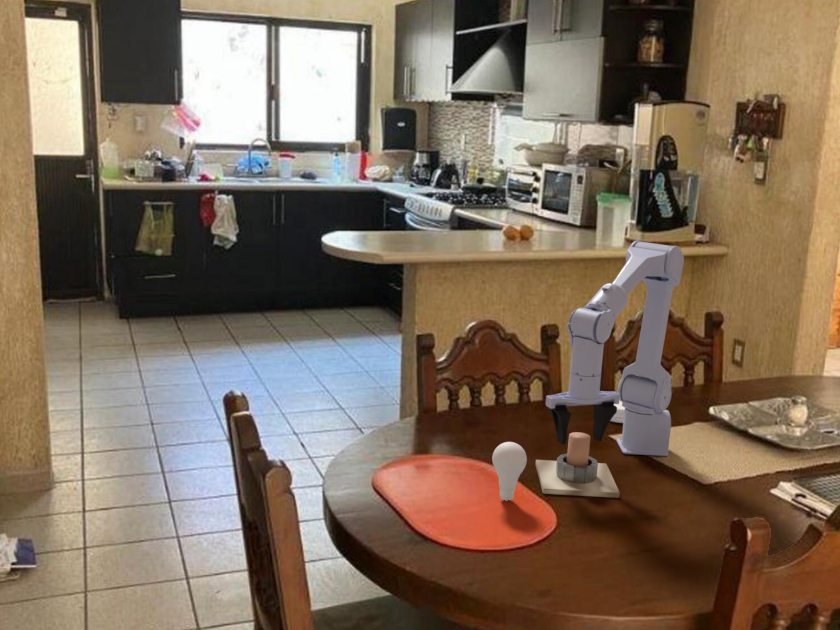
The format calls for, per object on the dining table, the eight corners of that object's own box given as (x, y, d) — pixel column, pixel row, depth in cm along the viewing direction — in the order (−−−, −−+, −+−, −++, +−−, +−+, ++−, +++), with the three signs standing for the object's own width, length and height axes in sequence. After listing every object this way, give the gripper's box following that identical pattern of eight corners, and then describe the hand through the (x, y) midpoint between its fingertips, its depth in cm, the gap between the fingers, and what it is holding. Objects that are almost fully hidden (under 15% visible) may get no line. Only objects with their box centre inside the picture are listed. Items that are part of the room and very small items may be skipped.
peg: (580, 470, 173) (584, 431, 172) (590, 478, 170) (594, 438, 168) (561, 472, 172) (565, 432, 170) (571, 480, 168) (575, 440, 167)
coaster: (608, 407, 217) (609, 393, 216) (647, 416, 211) (648, 402, 210) (590, 417, 209) (592, 403, 208) (631, 427, 203) (632, 412, 202)
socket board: (605, 468, 178) (607, 449, 177) (619, 497, 164) (621, 477, 163) (535, 464, 178) (536, 445, 177) (543, 493, 164) (544, 473, 163)
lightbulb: (501, 510, 156) (505, 451, 154) (483, 496, 162) (486, 439, 159) (530, 504, 159) (534, 446, 157) (511, 491, 165) (515, 435, 162)
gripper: (608, 364, 172) (602, 431, 175) (540, 368, 168) (535, 436, 171) (628, 375, 166) (621, 444, 169) (558, 379, 161) (552, 449, 164)
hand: (579, 441), depth 169 cm, fingers open, 7 cm apart
